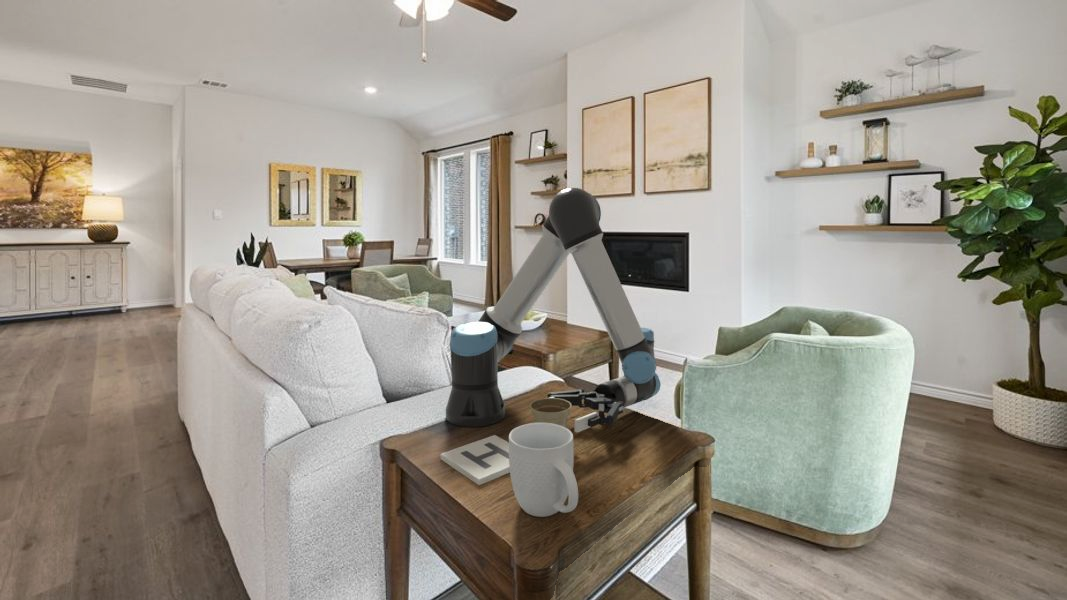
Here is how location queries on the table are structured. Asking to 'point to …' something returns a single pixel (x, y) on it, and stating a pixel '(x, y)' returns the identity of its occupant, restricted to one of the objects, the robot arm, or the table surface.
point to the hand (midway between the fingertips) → (553, 417)
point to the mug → (543, 468)
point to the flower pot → (551, 411)
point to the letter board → (480, 459)
